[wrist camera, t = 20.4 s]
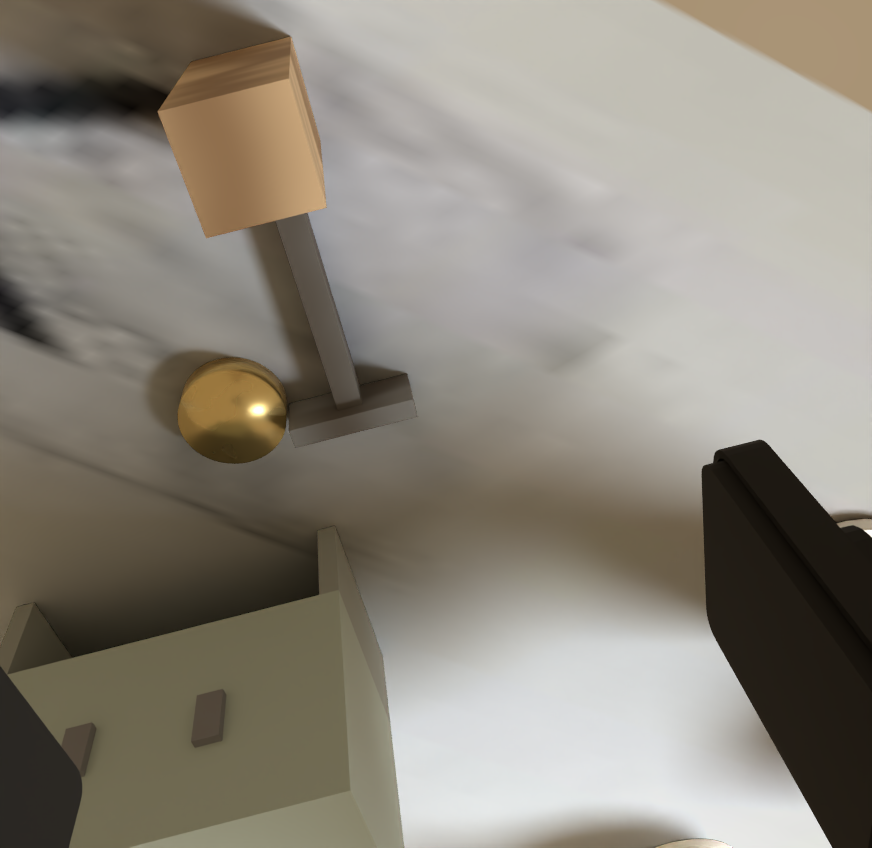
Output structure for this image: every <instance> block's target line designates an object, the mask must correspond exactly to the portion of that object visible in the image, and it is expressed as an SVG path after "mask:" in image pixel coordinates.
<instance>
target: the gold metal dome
mask: <svg viewBox="0 0 872 848" xmlns="http://www.w3.org/2000/svg"><path fill="white" fill-rule="evenodd" d="M286 415H287V397H286V393H285V390H284V388H283V386H282V384H281V382H280V381H279V379H278V378H277V377H276V376H275V375H274V374H273V373H272V372H271V371H270V370H269V369H267V368H266V367H264V366H263V365H261V364H259V363H257V362H254V361H251V360H248V359H243V358H233V357H232V358H221V359H217V360H213V361H210V362H208V363H206V364H204V365H202V366H201V367H199V368H198V369H197V370H195V371H194V372H193V374H192V375H191V376H190V377H189V379H188V380H187V382H186V384H185V386H184V389H183V392H182V396H181V400H180V404H179V408H178V425H179V428H180V431H181V433H182V435H183V437H184V439H185V440H186V442H187V443H188V444H189V445H190V446H191V447H192V448H193V449H194V450H195V451H197V452H198V453H200V454H201V455H203V456H205V457H207V458H209V459H212V460H214V461H218V462H222V463H230V464H239V463H247V462H251V461H254V460H257V459H259V458H262V457H263V456H265V455H267V454H268V453H270V452H271V451H272V450H273V449H274V448H275V447H276V446H277V445H278V444H279V442H280V441H281V439H282V437H283V435H284V432H285V428H286Z"/></svg>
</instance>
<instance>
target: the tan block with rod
mask: <svg viewBox="0 0 872 848" xmlns="http://www.w3.org/2000/svg"><path fill="white" fill-rule="evenodd" d="M158 114H159V117H160V119H161V122H162V124H163V127H164V130H165V132H166V135H167V137H168V140H169V143H170V145H171V148H172V150H173V153H174V156H175V158H176V161H177V163H178V166H179V169H180V171H181V174H182V176H183V179H184V182H185V184H186V187H187V189H188V192H189V195H190V197H191V200H192V202H193V205H194V208H195V210H196V213H197V216H198V218H199V221H200V223H201V226H202V229H203V231H204V234H205V236H206V238H209V237H213V236H217V235H221V234H225V233H229V232H233V231H237V230H240V229H244V228H248V227H252V226H256V225H260V224H264V223H268V222H272V221H276V224H277V227H278V231H279V234H280V237H281V240H282V243H283V246H284V249H285V252H286V255H287V258H288V261H289V264H290V267H291V270H292V273H293V276H294V279H295V282H296V285H297V288H298V291H299V294H300V297H301V300H302V303H303V306H304V309H305V312H306V315H307V318H308V321H309V325H310V328H311V331H312V334H313V337H314V340H315V343H316V346H317V349H318V352H319V355H320V358H321V361H322V364H323V367H324V370H325V373H326V376H327V379H328V382H329V385H330V388H331V391H332V393H329V394H325V395H321V396H317V397H314V398H310V399H306V400H302V401H298V402H294V403H290V404H289V433H290V435H291V438H292V441H293V443H294V446H295V448H297V447H301V446H305V445H309V444H313V443H317V442H321V441H324V440H328V439H332V438H336V437H340V436H344V435H348V434H352V433H356V432H360V431H364V430H368V429H371V428H375V427H379V426H383V425H387V424H391V423H395V422H399V421H403V420H407V419H411V418H415V417H417V412H416V408H415V404H414V399H413V395H412V391H411V387H410V383H409V379H408V376H407V374H404V375H400V376H396V377H392V378H388V379H384V380H380V381H376V382H372V383H368V384H365V385H361V386H360V384H359V381H358V378H357V374H356V371H355V368H354V365H353V361H352V358H351V355H350V351H349V348H348V345H347V342H346V338H345V335H344V332H343V329H342V325H341V322H340V319H339V315H338V312H337V309H336V306H335V302H334V299H333V296H332V292H331V289H330V286H329V283H328V279H327V276H326V273H325V270H324V266H323V263H322V260H321V256H320V253H319V250H318V247H317V243H316V240H315V237H314V234H313V230H312V227H311V224H310V220H309V217H308V214H307V213H308V212H311V211H315V210H319V209H323V208H327V207H326V197H325V186H324V175H323V165H322V154H321V143H320V137H319V134H318V130H317V127H316V123H315V120H314V116H313V113H312V109H311V105H310V102H309V98H308V95H307V91H306V88H305V84H304V81H303V77H302V73H301V70H300V66H299V63H298V59H297V56H296V52H295V49H294V45H293V41H292V38H291V37H287V38H283V39H279V40H275V41H271V42H267V43H263V44H259V45H255V46H251V47H247V48H243V49H240V50H236V51H232V52H228V53H224V54H220V55H216V56H212V57H208V58H204V59H200V60H196V61H192V62H190V64H189V65H188V67H187V68H186V70H185V71H184V73H183V74H182V76H181V77H180V79H179V80H178V82H177V83H176V85H175V86H174V88H173V89H172V91H171V92H170V94H169V95H168V97H167V98H166V100H165V101H164V103H163V104H162V106H161V107H160V109H159V110H158Z"/></svg>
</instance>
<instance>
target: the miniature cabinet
mask: <svg viewBox="0 0 872 848" xmlns="http://www.w3.org/2000/svg"><path fill="white" fill-rule="evenodd" d="M317 537H318V570H319V595H317V596H313V597H309V598H305V599H301V600H297V601H293V602H289V603H286V604H282V605H278V606H274V607H270V608H266V609H262V610H258V611H254V612H250V613H246V614H243V615H239V616H235V617H231V618H227V619H223V620H219V621H215V622H211V623H207V624H203V625H199V626H196V627H192V628H188V629H184V630H180V631H176V632H172V633H168V634H164V635H160V636H156V637H153V638H149V639H145V640H141V641H137V642H133V643H129V644H125V645H121V646H117V647H113V648H109V649H106V650H102V651H98V652H94V653H90V654H86V655H82V656H78V657H74V658H72V657H71V655H70V654H69V653H68V651H67V650H66V648H65V647H64V645H63V644H62V642H61V641H60V640H59V638H58V637H57V635H56V634H55V632H54V631H53V629H52V628H51V626H50V625H49V624H48V622H47V621H46V619H45V618H44V616H43V615H42V613H41V612H40V611H39V609H38V608H37V606H36V605H35V603H31V604H27V605H23V606H19V607H16V609H15V612H14V614H13V617H12V619H11V622H10V624H9V627H8V629H7V632H6V634H5V637H4V639H3V642H2V644H1V647H0V666H1V667H2V669H3V670H4V671H5V673H6V674H7V675H8V677H9V678H10V679H11V681H12V682H13V683H14V685H15V686H16V687H17V689H18V690H19V691H20V693H21V694H22V695H23V697H24V698H25V699H26V701H27V702H28V703H29V704H30V706H31V707H32V708H33V710H34V711H35V712H36V714H37V715H38V716H39V718H40V719H41V720H42V722H43V723H44V724H45V726H46V727H47V728H48V730H49V731H50V732H51V734H52V735H53V736H54V738H55V739H56V740H57V741H58V743H59V744H60V745H61V747H62V748H63V749H64V751H65V752H66V753H67V755H68V756H69V757H70V759H71V760H72V761H73V763H74V764H75V765H76V767H77V768H78V770H79V772H80V775H81V779H82V797H81V802H80V806H79V810H78V814H77V818H76V822H75V826H74V829H73V833H72V837H71V841H70V845H69V848H404V842H403V833H402V824H401V815H400V806H399V797H398V788H397V779H396V770H395V761H394V752H393V744H392V735H391V726H390V717H389V708H388V699H387V690H386V681H385V672H384V663H383V656H382V653H381V650H380V648H379V645H378V642H377V639H376V637H375V634H374V631H373V628H372V626H371V623H370V620H369V618H368V615H367V612H366V609H365V607H364V604H363V601H362V598H361V596H360V593H359V590H358V587H357V585H356V582H355V579H354V577H353V574H352V571H351V568H350V566H349V563H348V560H347V557H346V555H345V552H344V549H343V546H342V544H341V541H340V538H339V536H338V533H337V530H336V527H335V526H333V527H329V528H325V529H321V530H317Z"/></svg>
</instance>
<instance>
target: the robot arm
mask: <svg viewBox="0 0 872 848" xmlns="http://www.w3.org/2000/svg"><path fill="white" fill-rule="evenodd" d="M702 498H703V526H704V555H705V584H706V610H707V617H708V621H709V624H710V628H711V630H712V633H713V635H714V637H715V639H716V641H717V643H718V644H719V646H720V648H721V650H722V652H723V653H724V655H725V657H726V659H727V661H728V662H729V664H730V666H731V668H732V669H733V671H734V673H735V675H736V677H737V678H738V680H739V682H740V684H741V685H742V687H743V689H744V691H745V693H746V694H747V696H748V698H749V700H750V702H751V703H752V705H753V707H754V709H755V710H756V712H757V714H758V716H759V718H760V719H761V721H762V723H763V725H764V727H765V728H766V730H767V732H768V734H769V735H770V737H771V739H772V741H773V743H774V744H775V746H776V748H777V750H778V751H779V753H780V755H781V757H782V759H783V760H784V762H785V764H786V766H787V768H788V769H789V771H790V773H791V775H792V776H793V778H794V780H795V782H796V784H797V785H798V787H799V789H800V791H801V792H802V794H803V796H804V798H805V800H806V801H807V803H808V805H809V807H810V809H811V810H812V812H813V814H814V816H815V817H816V819H817V821H818V823H819V825H820V826H821V828H822V830H823V832H824V834H825V835H826V837H827V839H828V841H829V842H830V844H831V846H832V848H872V519H860V520H850V521H844V522H840V523H836V522H835V521H834V520H833V519H832V518H831V517H830V515H829V514H828V513H827V512H826V511H825V510H824V508H823V507H822V506H821V505H820V504H819V503H818V501H817V500H816V499H815V498H814V497H813V496H812V495H811V493H810V492H809V491H808V490H807V489H806V488H805V486H804V485H803V484H802V483H801V482H800V481H799V479H798V478H797V477H796V476H795V475H794V474H793V473H792V471H791V470H790V469H789V468H788V467H787V466H786V464H785V463H784V462H783V461H782V460H781V459H780V457H779V456H778V455H777V454H776V453H775V452H774V451H773V449H772V448H771V447H770V446H769V445H768V444H767V443H766V442H765V441H762V440H756V441H752V442H748V443H744V444H740V445H736V446H732V447H728V448H724V449H720V450H718V451H716V452H715V455H714V461H713V463H712V464H708V465H705V466H703V468H702ZM81 797H82V779H81V775H80V772H79V770H78V768H77V767H76V765H75V764H74V763H73V761H72V760H71V759H70V757H69V756H68V755H67V753H66V752H65V751H64V749H63V748H62V747H61V745H60V744H59V743H58V741H57V740H56V739H55V738H54V736H53V735H52V734H51V732H50V731H49V730H48V728H47V727H46V726H45V724H44V723H43V722H42V720H41V719H40V718H39V716H38V715H37V714H36V712H35V711H34V710H33V708H32V707H31V706H30V704H29V703H28V702H27V701H26V699H25V698H24V697H23V695H22V694H21V693H20V691H19V690H18V689H17V687H16V686H15V685H14V683H13V682H12V681H11V679H10V678H9V677H8V675H7V674H6V673H5V671H4V670H3V669H2V667H1V666H0V848H69V845H70V841H71V837H72V833H73V829H74V826H75V822H76V818H77V814H78V810H79V806H80V802H81Z"/></svg>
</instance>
